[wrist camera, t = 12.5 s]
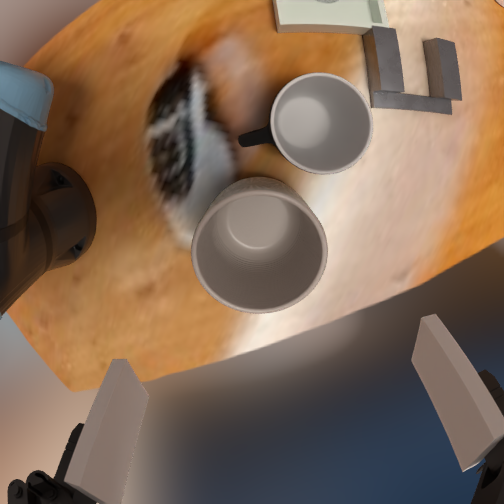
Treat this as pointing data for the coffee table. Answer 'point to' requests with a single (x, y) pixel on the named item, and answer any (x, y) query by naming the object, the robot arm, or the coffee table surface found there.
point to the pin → (327, 1)
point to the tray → (329, 16)
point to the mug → (317, 124)
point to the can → (500, 2)
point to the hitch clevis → (391, 77)
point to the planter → (259, 247)
